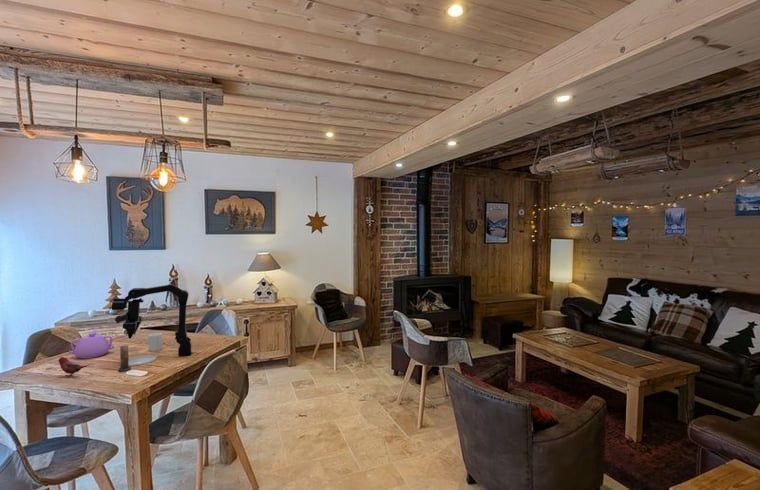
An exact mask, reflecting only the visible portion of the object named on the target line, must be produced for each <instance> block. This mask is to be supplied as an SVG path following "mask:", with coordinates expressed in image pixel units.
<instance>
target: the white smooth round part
mask: <svg viewBox="0 0 760 490" xmlns="http://www.w3.org/2000/svg"><path fill="white" fill-rule="evenodd" d="M156 360H157V356H156V355H154V354H139V355H133V356H128V366H130V367H136V366H142V365H147V364H150V363H152V362H155V361H156Z"/></svg>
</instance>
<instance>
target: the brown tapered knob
mask: <svg viewBox="0 0 760 490" xmlns="http://www.w3.org/2000/svg"><path fill="white" fill-rule="evenodd" d="M119 353H120V355H119V357H120V358H119V359H120V361H119V367H118V369H117V371H118V373H124V372H125V373H126V372H129V371H130V370H131V369H132V366H128V357H129V345H127V344H125V345H121V346H120V351H119Z"/></svg>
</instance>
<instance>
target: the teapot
mask: <svg viewBox="0 0 760 490" xmlns="http://www.w3.org/2000/svg"><path fill="white" fill-rule="evenodd" d="M107 338H109V342H108V340H107ZM76 341H78V342H77V343H76V345H75V347H74V342H76ZM112 343H113V336H111V335H103V334H97V329H95V328H94V329H93V330H92V332H90V333H88V335H85V336H82V337H81V338H75V339H72V340H71V342H70V348H71V349H69V351H68V354H69V355H74V356H75V357H76V358H78V359H90V358H96V357H98V358H99V357H102V356H103V355H105V354H107V353H108V351H109V350H114V349H115V345H114V344H112Z"/></svg>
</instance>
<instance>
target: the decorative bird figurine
mask: <svg viewBox="0 0 760 490" xmlns="http://www.w3.org/2000/svg"><path fill="white" fill-rule="evenodd" d="M57 361H58V364H59V366H60V368H61V370H62V372H64V373H66V374H65V376H67V377H75V375H74V374H75V373H78V372H79V371H81V370H82V369H85V368H87V367H90V365H89V364H88V365H87V364H86V365H80V364H78V363H76V362H73V361H70V360H69V359H68V358H67V357H64V356H61V357H59V359H58V360H57Z"/></svg>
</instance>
